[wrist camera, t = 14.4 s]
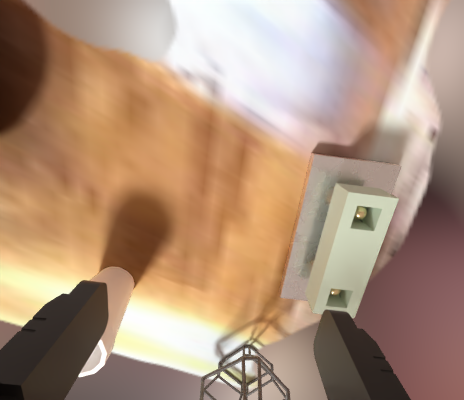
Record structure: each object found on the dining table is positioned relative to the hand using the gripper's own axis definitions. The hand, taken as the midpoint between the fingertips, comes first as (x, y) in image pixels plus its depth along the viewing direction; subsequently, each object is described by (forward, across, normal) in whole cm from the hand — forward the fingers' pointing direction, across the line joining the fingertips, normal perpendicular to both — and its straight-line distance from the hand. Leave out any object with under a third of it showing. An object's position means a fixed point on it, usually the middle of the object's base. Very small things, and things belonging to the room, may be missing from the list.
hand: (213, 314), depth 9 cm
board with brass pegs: (+28, -17, +9) cm, 34 cm away
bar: (+25, -17, +9) cm, 31 cm away
